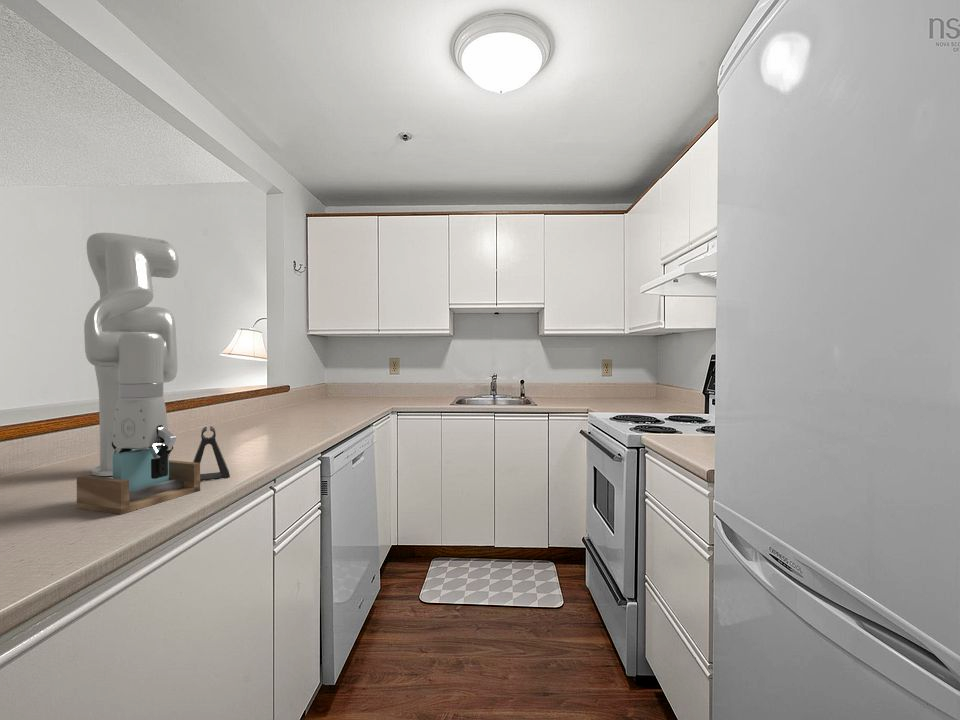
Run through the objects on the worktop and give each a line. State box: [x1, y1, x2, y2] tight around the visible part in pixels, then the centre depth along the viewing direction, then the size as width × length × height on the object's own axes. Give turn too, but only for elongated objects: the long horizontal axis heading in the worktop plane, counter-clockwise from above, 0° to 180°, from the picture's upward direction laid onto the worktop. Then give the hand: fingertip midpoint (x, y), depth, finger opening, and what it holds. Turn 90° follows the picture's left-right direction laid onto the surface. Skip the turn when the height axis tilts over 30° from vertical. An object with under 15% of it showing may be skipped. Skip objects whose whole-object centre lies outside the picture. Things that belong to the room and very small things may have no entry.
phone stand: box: [192, 426, 231, 482], centre depth 118 cm, size 9×6×12 cm, turn 119°
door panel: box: [112, 448, 170, 491], centre depth 101 cm, size 10×2×9 cm, turn 161°
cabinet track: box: [76, 459, 201, 515], centre depth 100 cm, size 17×12×6 cm
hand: (142, 475), depth 100 cm, fingers open, 9 cm apart
